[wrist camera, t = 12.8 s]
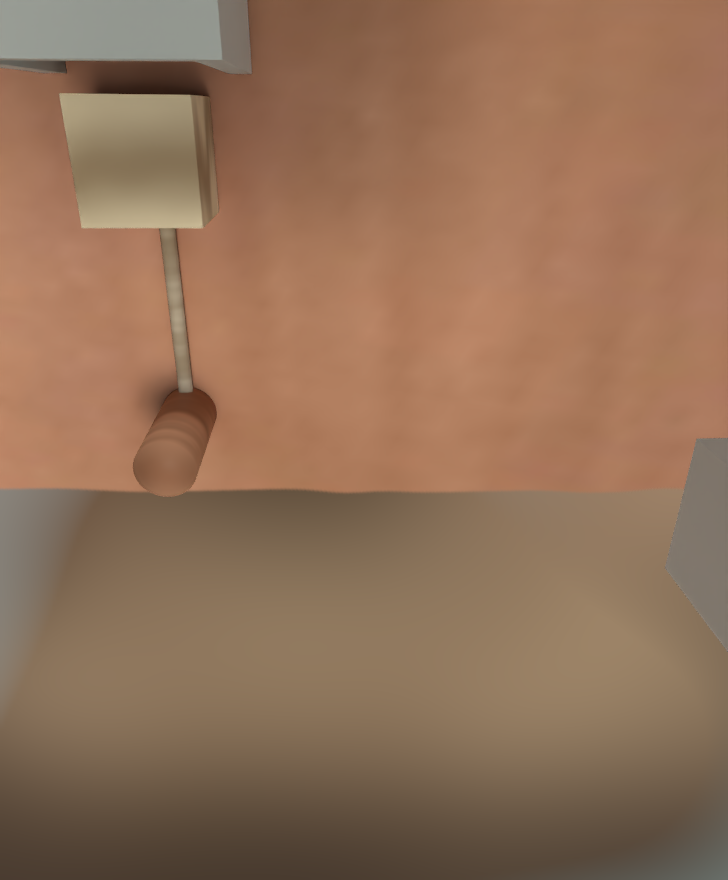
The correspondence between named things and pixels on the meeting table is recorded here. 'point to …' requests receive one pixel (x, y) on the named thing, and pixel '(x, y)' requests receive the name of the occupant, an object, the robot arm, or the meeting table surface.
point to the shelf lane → (124, 33)
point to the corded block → (152, 206)
